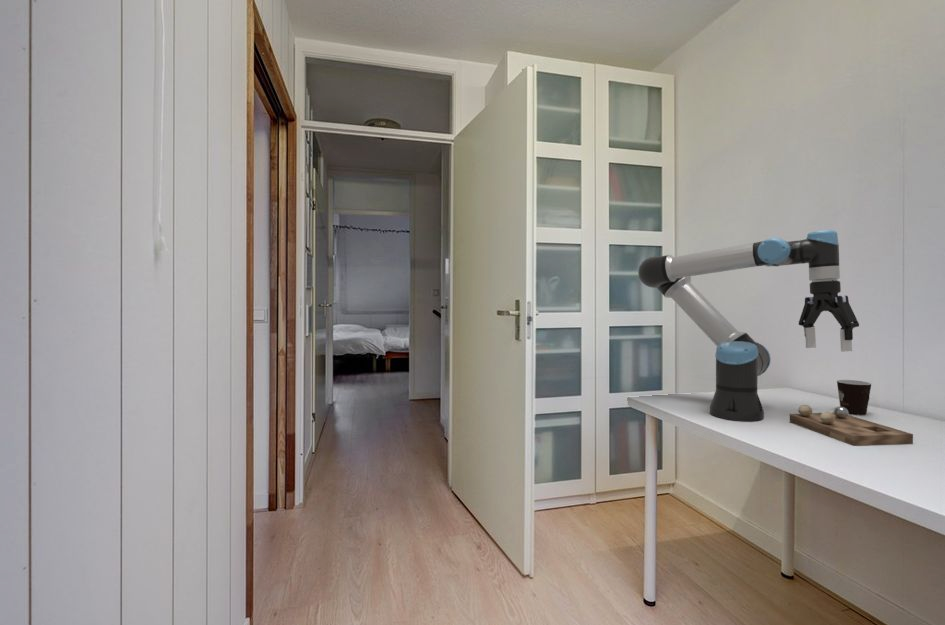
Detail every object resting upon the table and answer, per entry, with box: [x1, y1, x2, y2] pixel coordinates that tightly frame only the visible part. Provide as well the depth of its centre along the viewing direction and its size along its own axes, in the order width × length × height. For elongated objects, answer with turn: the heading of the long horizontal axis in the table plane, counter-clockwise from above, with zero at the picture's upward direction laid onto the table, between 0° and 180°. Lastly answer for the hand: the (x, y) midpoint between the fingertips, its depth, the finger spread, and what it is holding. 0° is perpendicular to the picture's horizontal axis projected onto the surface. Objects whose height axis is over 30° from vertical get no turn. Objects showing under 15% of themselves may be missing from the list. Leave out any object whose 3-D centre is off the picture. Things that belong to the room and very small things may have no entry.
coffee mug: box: [836, 379, 872, 416], centre depth 146 cm, size 12×9×10 cm
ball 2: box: [820, 411, 835, 424], centre depth 127 cm, size 3×3×3 cm
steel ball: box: [833, 405, 850, 418], centre depth 133 cm, size 3×3×3 cm
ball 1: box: [797, 404, 813, 416], centre depth 135 cm, size 3×3×3 cm
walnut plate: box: [789, 412, 914, 446], centre depth 128 cm, size 16×22×2 cm
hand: (827, 349), depth 140 cm, fingers open, 13 cm apart
